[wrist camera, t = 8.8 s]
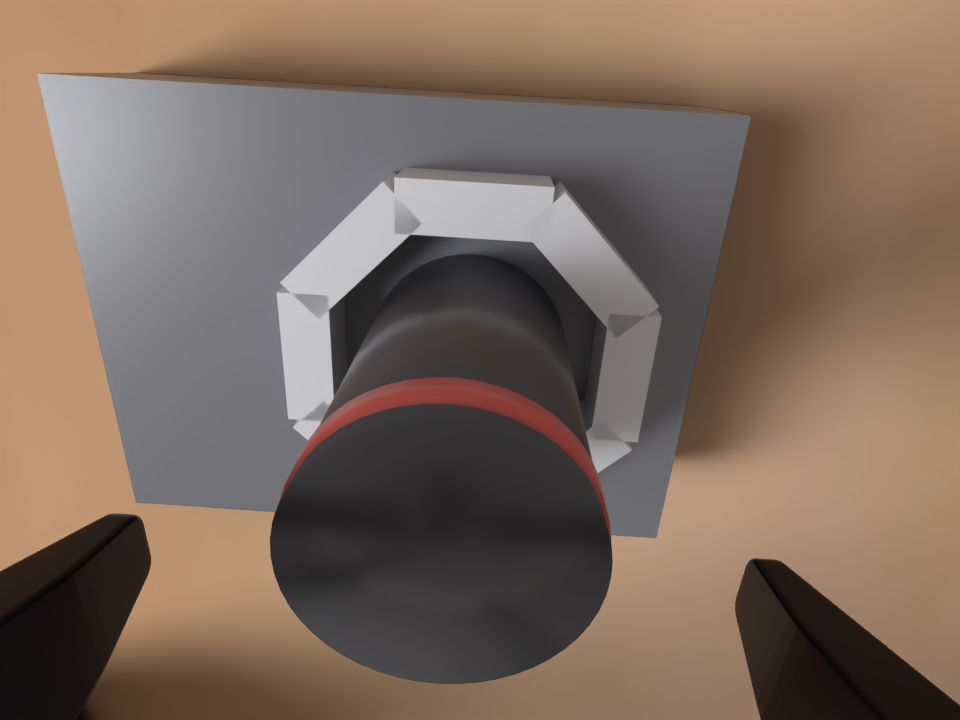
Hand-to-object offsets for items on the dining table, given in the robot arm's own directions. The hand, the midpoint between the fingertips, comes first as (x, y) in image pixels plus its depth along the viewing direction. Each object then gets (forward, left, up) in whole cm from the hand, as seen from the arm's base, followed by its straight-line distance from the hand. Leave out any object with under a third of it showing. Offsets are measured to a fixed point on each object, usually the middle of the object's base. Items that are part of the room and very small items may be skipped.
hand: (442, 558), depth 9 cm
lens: (0, 0, -8) cm, 8 cm away
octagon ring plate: (-2, 0, -12) cm, 12 cm away
